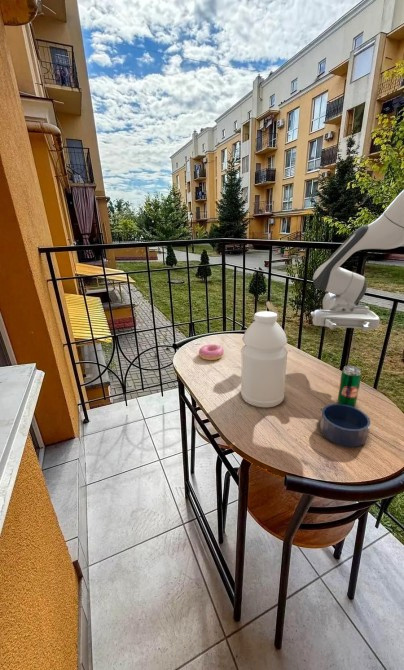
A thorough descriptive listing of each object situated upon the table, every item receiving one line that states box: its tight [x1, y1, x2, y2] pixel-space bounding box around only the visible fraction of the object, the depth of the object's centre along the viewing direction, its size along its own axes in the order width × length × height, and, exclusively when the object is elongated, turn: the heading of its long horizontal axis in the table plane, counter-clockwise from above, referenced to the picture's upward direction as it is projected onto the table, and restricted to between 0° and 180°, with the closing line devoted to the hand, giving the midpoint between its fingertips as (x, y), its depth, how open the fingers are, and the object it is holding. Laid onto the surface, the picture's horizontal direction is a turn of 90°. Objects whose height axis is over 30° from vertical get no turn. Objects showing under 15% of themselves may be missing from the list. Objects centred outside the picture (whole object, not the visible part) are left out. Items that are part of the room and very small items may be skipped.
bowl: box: [319, 403, 371, 448], centre depth 73 cm, size 11×11×5 cm
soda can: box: [337, 365, 362, 407], centre depth 84 cm, size 5×5×12 cm
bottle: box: [240, 310, 289, 408], centre depth 87 cm, size 14×14×28 cm
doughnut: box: [198, 343, 225, 361], centre depth 121 cm, size 11×11×4 cm
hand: (349, 328), depth 88 cm, fingers open, 8 cm apart
